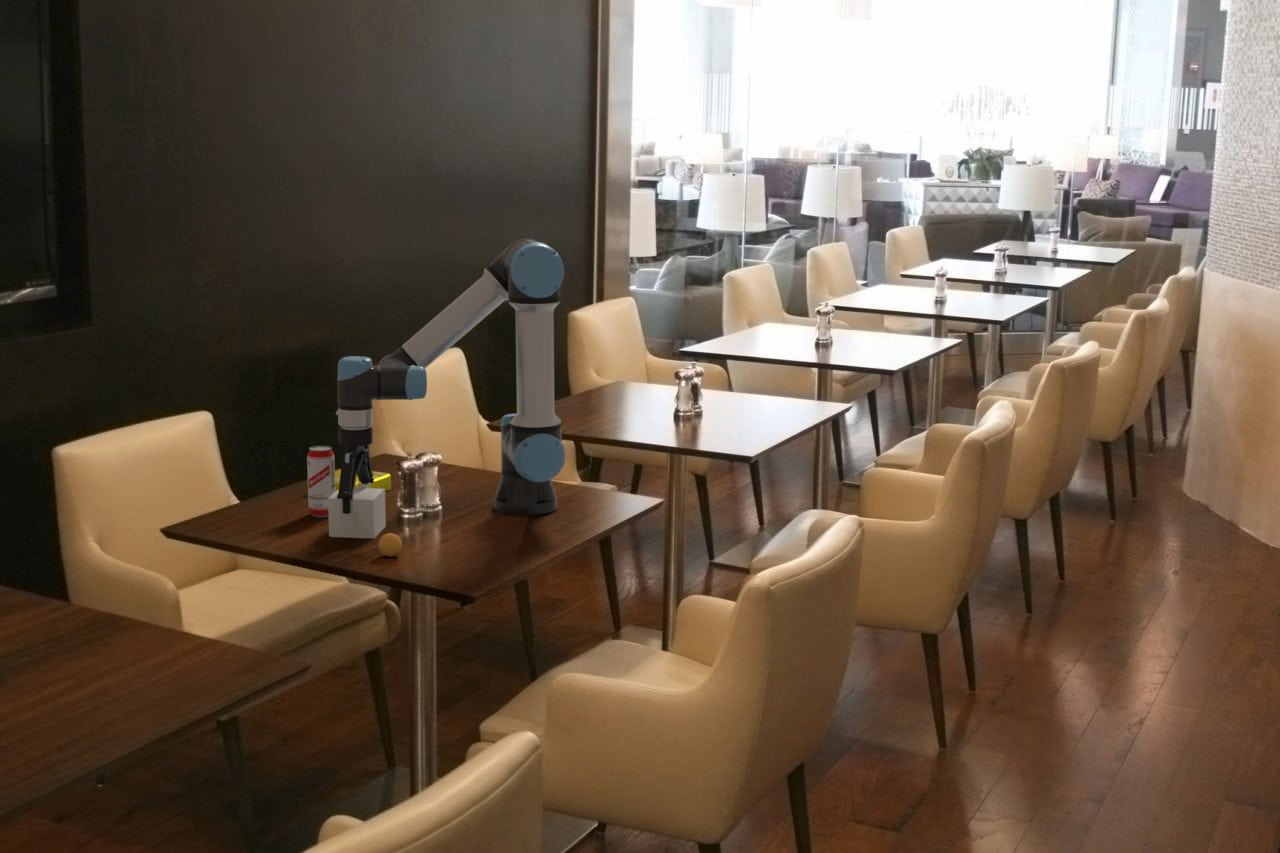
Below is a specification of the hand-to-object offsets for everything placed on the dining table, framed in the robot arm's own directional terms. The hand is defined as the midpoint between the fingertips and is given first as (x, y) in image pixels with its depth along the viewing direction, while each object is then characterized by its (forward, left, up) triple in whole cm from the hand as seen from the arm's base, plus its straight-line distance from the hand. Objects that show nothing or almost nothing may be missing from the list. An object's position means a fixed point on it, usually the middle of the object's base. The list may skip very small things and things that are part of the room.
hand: (356, 519), depth 336 cm
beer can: (+12, -13, -3) cm, 18 cm away
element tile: (+11, -36, -4) cm, 38 cm away
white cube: (0, 0, -3) cm, 3 cm away
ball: (-12, +18, 0) cm, 22 cm away
